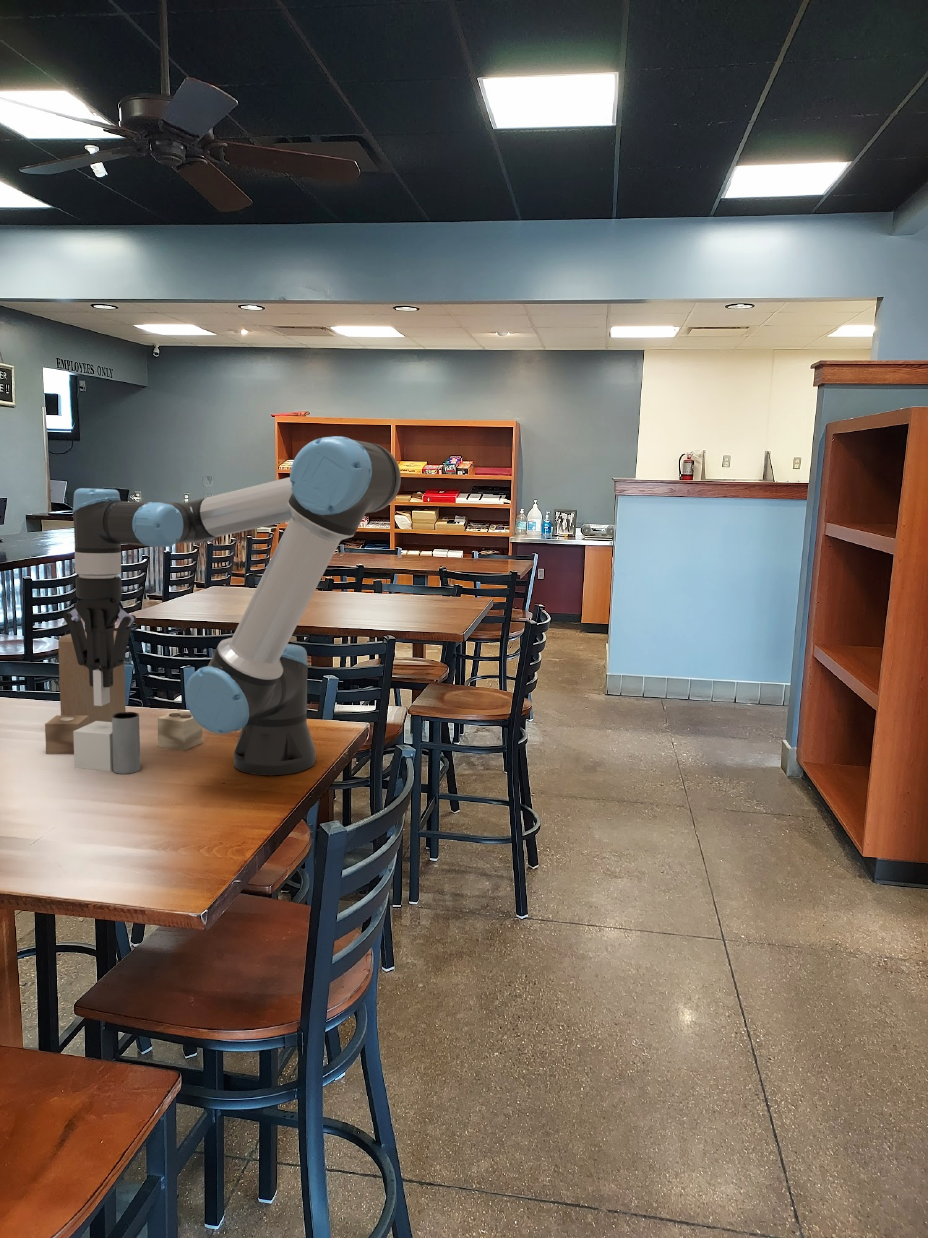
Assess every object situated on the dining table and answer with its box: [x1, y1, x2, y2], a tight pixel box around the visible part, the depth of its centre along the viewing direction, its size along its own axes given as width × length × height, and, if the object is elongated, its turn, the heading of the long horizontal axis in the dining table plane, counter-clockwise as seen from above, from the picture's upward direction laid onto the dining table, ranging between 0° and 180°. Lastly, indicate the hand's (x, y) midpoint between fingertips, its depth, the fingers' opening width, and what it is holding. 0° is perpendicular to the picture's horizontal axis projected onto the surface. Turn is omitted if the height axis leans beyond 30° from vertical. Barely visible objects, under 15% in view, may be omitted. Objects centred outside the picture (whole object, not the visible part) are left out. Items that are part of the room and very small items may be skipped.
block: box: [57, 629, 127, 724], centre depth 172 cm, size 10×10×20 cm
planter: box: [112, 711, 141, 775], centre depth 146 cm, size 4×4×10 cm
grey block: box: [73, 721, 113, 772], centre depth 150 cm, size 7×7×7 cm
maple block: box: [157, 710, 203, 752], centre depth 163 cm, size 6×6×6 cm
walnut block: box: [44, 714, 89, 755], centre depth 157 cm, size 6×6×6 cm
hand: (102, 703), depth 149 cm, fingers closed
